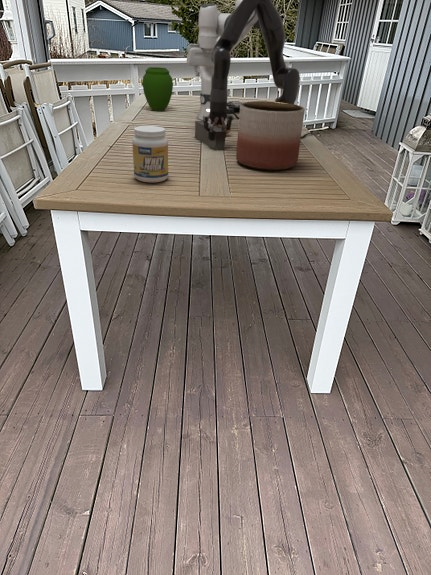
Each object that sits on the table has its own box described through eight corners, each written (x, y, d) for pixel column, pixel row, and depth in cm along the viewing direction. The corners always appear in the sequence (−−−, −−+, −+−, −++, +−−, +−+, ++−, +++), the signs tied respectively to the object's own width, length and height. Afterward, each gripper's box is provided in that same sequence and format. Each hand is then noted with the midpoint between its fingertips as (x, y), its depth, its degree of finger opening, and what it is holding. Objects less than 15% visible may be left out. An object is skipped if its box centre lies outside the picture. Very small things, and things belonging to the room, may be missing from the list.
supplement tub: (139, 184, 140) (136, 133, 131) (130, 174, 149) (127, 125, 140) (173, 181, 144) (172, 131, 135) (162, 172, 153) (161, 124, 144)
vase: (143, 107, 275) (142, 66, 262) (173, 108, 277) (172, 67, 264) (142, 112, 259) (140, 68, 246) (173, 113, 261) (173, 70, 248)
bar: (194, 137, 205) (195, 120, 201) (203, 137, 207) (203, 120, 203) (215, 150, 186) (216, 131, 181) (224, 149, 187) (225, 131, 183)
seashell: (229, 134, 215) (230, 118, 210) (231, 136, 210) (232, 120, 206) (212, 134, 213) (212, 117, 209) (213, 136, 209) (214, 119, 204)
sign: (225, 107, 272) (224, 100, 297) (225, 111, 274) (224, 105, 299) (253, 108, 272) (250, 101, 298) (253, 113, 274) (250, 106, 299)
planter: (305, 172, 161) (315, 112, 150) (243, 172, 157) (248, 110, 146) (285, 155, 183) (293, 101, 171) (230, 155, 178) (233, 100, 167)
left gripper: (189, 43, 190) (189, 76, 198) (228, 45, 198) (227, 77, 205) (184, 43, 195) (184, 75, 203) (223, 44, 203) (222, 75, 210)
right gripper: (206, 101, 173) (205, 142, 182) (237, 101, 178) (234, 141, 187) (200, 98, 179) (199, 139, 188) (229, 98, 184) (227, 137, 193)
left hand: (206, 76), depth 204 cm, fingers open, 8 cm apart
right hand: (216, 139), depth 188 cm, fingers open, 5 cm apart
